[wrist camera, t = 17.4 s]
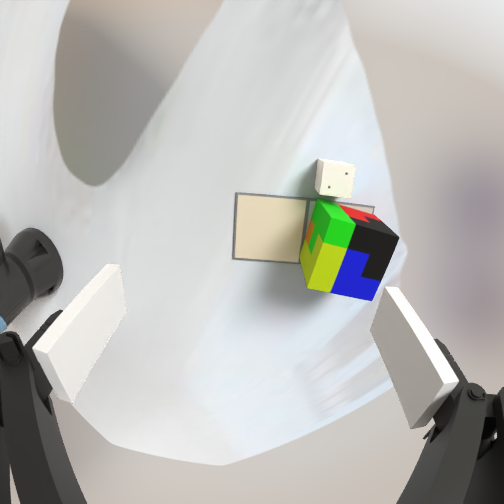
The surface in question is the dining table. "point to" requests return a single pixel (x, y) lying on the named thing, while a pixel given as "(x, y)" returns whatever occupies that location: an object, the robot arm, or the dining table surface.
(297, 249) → the board
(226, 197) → the dining table surface
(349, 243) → the puzzle toy
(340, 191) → the die
